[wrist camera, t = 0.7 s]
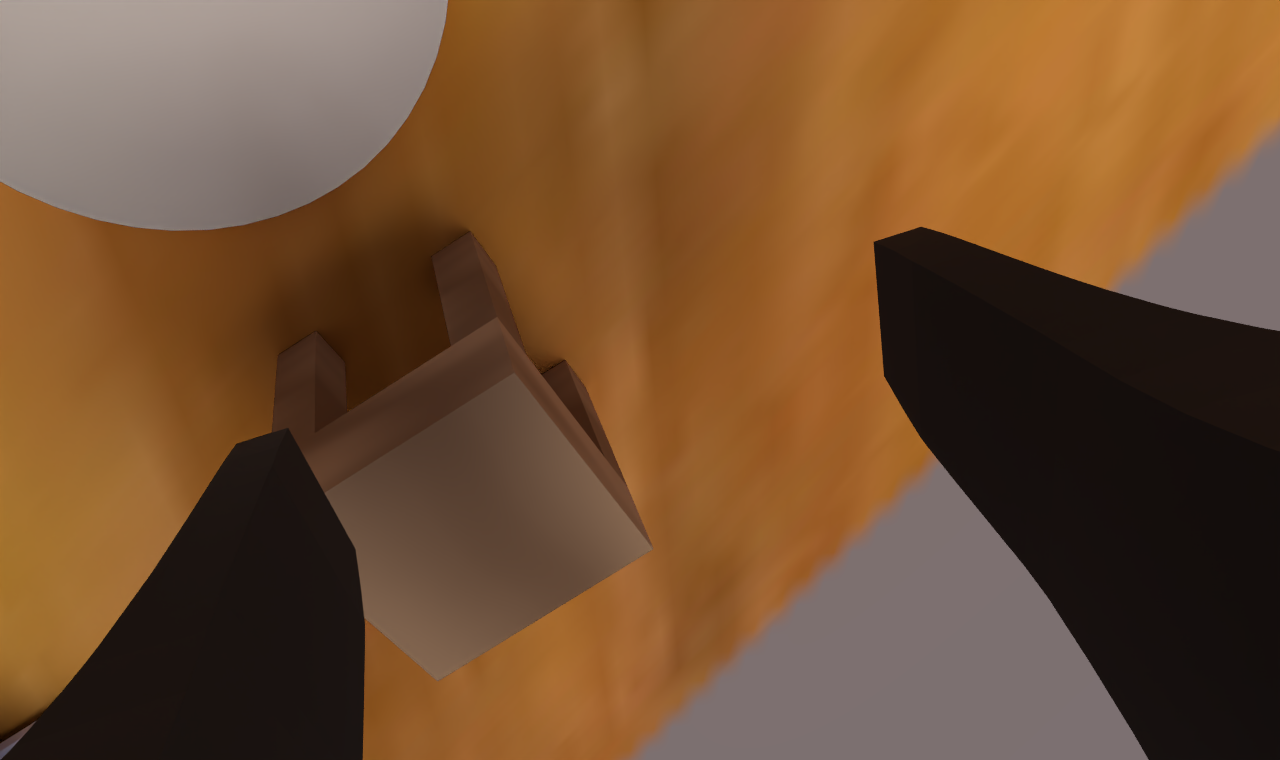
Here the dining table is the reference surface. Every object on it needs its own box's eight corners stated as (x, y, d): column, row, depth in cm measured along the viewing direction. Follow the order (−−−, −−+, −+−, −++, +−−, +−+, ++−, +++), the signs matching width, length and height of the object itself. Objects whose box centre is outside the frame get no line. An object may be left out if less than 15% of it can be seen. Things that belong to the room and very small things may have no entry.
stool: (414, 496, 24) (437, 681, 20) (277, 355, 22) (264, 530, 17) (586, 388, 24) (653, 548, 19) (470, 231, 21) (514, 372, 16)
